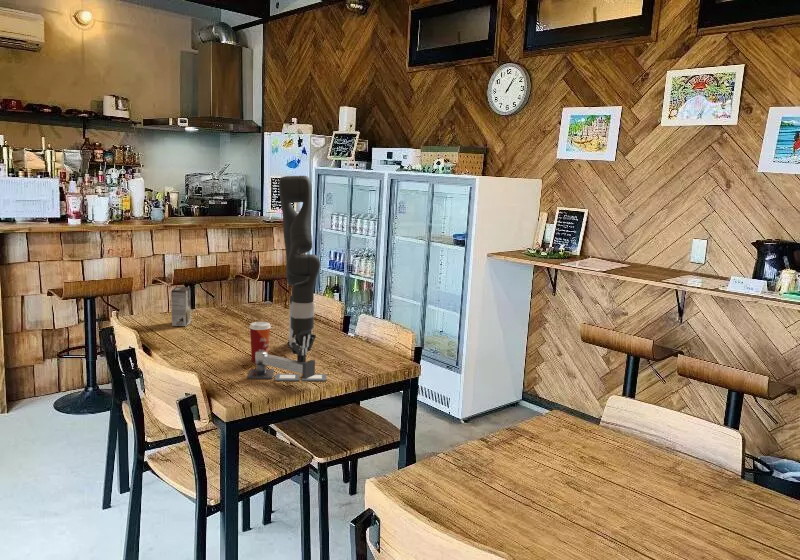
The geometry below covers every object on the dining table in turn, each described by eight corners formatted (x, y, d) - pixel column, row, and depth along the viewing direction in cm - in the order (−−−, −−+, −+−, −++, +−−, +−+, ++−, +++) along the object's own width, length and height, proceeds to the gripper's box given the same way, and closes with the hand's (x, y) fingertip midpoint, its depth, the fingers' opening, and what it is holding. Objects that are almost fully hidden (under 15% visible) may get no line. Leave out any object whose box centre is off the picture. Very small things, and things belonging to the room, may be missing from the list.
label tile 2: (302, 375, 210) (302, 373, 209) (325, 375, 211) (326, 373, 211) (302, 381, 204) (302, 379, 204) (326, 381, 205) (326, 379, 205)
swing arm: (251, 365, 206) (251, 351, 205) (261, 362, 210) (261, 348, 209) (305, 379, 195) (305, 364, 194) (314, 375, 200) (315, 360, 199)
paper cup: (265, 364, 219) (265, 327, 216) (245, 362, 220) (245, 325, 218) (273, 358, 226) (274, 322, 224) (254, 356, 228) (254, 320, 225)
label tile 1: (276, 375, 208) (276, 373, 208) (299, 375, 209) (299, 373, 209) (274, 380, 202) (274, 379, 202) (299, 381, 204) (299, 379, 203)
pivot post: (250, 371, 211) (250, 359, 210) (273, 371, 212) (274, 359, 211) (247, 378, 203) (247, 366, 203) (272, 378, 204) (272, 366, 204)
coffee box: (176, 321, 273) (176, 286, 270) (191, 322, 274) (191, 286, 271) (171, 326, 264) (170, 290, 261) (186, 327, 265) (186, 290, 262)
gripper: (305, 309, 207) (304, 357, 210) (280, 316, 195) (279, 368, 198) (323, 312, 203) (322, 362, 207) (299, 320, 192) (298, 372, 195)
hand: (301, 365), depth 202 cm, fingers closed
